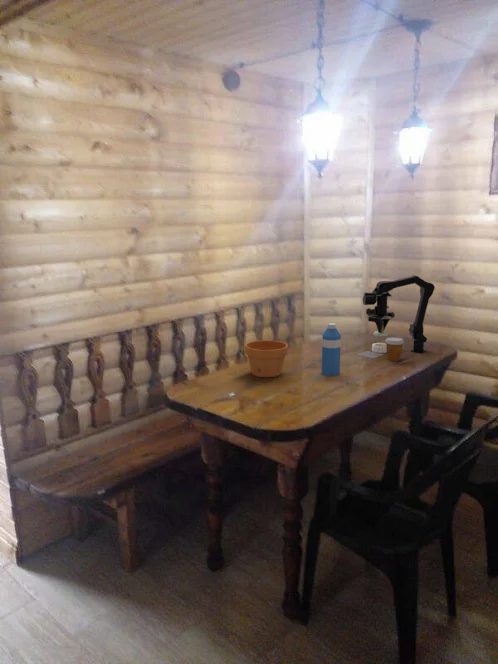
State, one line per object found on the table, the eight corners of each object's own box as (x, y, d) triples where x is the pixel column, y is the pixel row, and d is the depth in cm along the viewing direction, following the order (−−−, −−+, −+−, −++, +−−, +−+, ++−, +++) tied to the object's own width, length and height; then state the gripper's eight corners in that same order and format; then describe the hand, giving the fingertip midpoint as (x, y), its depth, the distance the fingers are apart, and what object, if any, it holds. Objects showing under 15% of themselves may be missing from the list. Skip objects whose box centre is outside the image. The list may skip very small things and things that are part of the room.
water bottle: (342, 371, 279) (343, 322, 274) (337, 376, 271) (338, 326, 266) (324, 369, 283) (325, 321, 278) (318, 374, 275) (319, 325, 269)
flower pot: (253, 365, 291) (253, 338, 288) (292, 369, 284) (292, 341, 281) (239, 377, 272) (238, 348, 268) (280, 381, 265) (280, 351, 261)
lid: (378, 332, 319) (378, 323, 318) (390, 334, 313) (391, 325, 312) (370, 334, 313) (371, 325, 312) (383, 337, 308) (383, 327, 306)
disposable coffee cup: (401, 358, 302) (402, 337, 299) (404, 363, 293) (405, 341, 290) (383, 358, 303) (384, 336, 300) (385, 363, 294) (386, 341, 291)
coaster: (367, 352, 315) (367, 350, 315) (384, 355, 308) (384, 354, 308) (356, 355, 308) (356, 354, 308) (373, 359, 300) (373, 358, 300)
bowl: (377, 348, 322) (377, 342, 321) (391, 351, 316) (392, 344, 315) (368, 351, 316) (369, 345, 315) (382, 354, 310) (383, 347, 309)
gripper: (378, 300, 321) (377, 327, 325) (360, 305, 308) (359, 332, 312) (395, 302, 314) (394, 329, 317) (377, 307, 301) (376, 335, 304)
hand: (381, 331), depth 313 cm, fingers closed on lid, 3 cm apart
